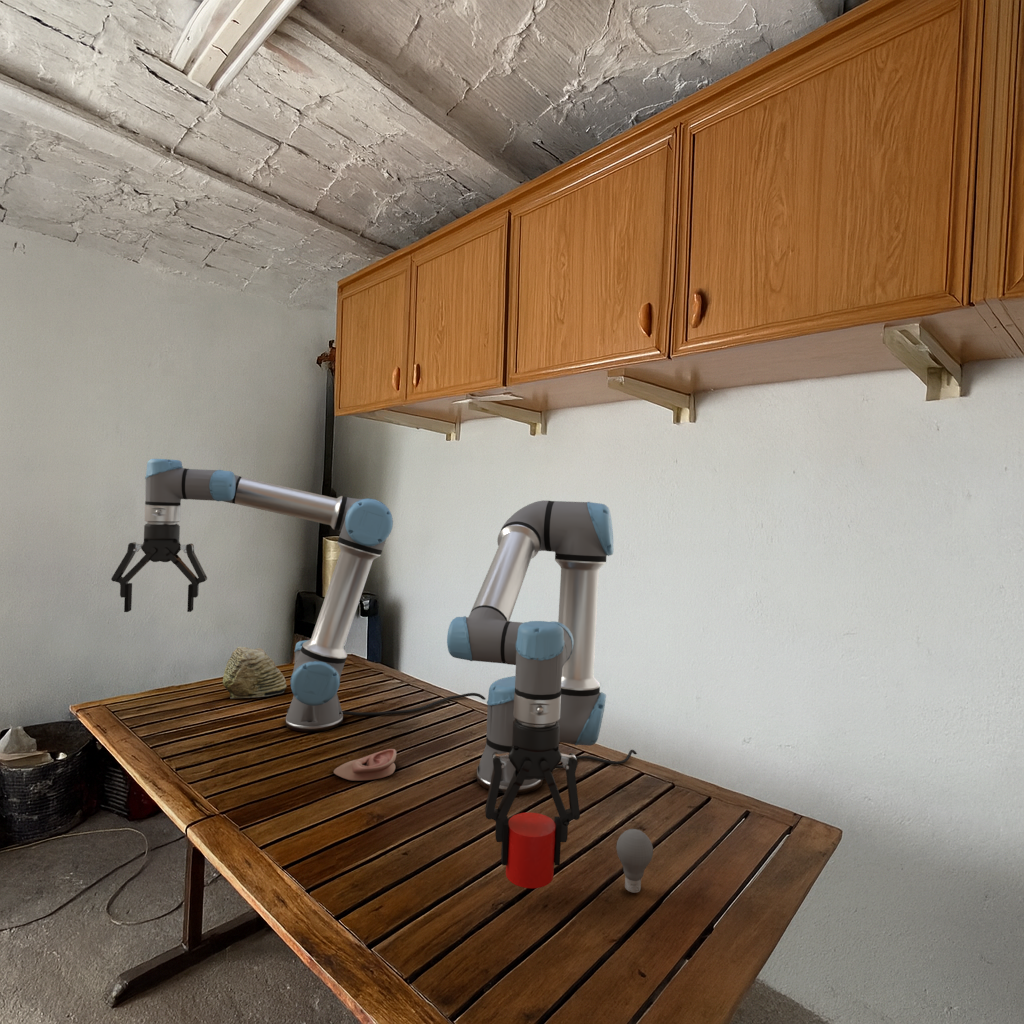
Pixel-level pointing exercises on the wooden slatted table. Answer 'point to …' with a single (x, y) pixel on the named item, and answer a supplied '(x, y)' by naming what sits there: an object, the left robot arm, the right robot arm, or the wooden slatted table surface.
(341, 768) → the anatomical model
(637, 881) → the light bulb
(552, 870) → the cylinder
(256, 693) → the fossil
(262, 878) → the wooden slatted table surface
